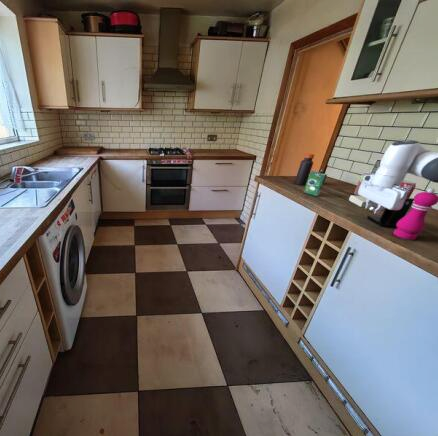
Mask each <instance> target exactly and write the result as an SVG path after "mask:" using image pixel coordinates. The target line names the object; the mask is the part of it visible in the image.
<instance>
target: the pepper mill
mask: <svg viewBox="0 0 438 436" xmlns="http://www.w3.org/2000/svg"><path fill="white" fill-rule="evenodd" d="M435 191H436V190H435V188H432V187H431V188H428V189H427V190H426V191H421V192H418V193H416V194H415V195H414V197H413V199H414V201H413V203H412V204H411V206H410V208H411V209H409V211H408V212H407V213H406V215H405V216H404V217H403V218H401V219H400V220H399V221H398V222H397V224H396V226H397V228H394V230H393V235H395V237H397V238H401V239H404V240H407V241H414V240H416V238H417V237H418V234H421V233H422V232H423V231H424V229H425V220H426V219H425V218H426V215H427V213H428V212H430V211H431V210H432V209H433V206H435V205H437V204H438V195H437V194H436V193H435Z"/></svg>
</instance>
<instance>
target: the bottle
mask: <svg viewBox="0 0 438 436" xmlns="http://www.w3.org/2000/svg"><path fill="white" fill-rule="evenodd" d="M314 158H315V154H313V153H305V154H304V159H303V160H301V161H300V164H299V167H298V171H297V173H296V177H295V180H294V184H295V185H298V186H306V184H307V181H308V178H309V175H310V173H311V171H312V169H313V165H314V161H313V160H314Z"/></svg>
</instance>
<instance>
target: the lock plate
mask: <svg viewBox="0 0 438 436" xmlns="http://www.w3.org/2000/svg"><path fill="white" fill-rule="evenodd" d="M366 200H367V198H365V197H363V196H359V195H356V194H354V195H353V194H352V195H351V194H350V196H349V199H348V201H349V202H351V203H353V204H355V205H357V206H358V207H360V208H366V206H367V205H366ZM372 206H378V204H377V203H375V202H372Z"/></svg>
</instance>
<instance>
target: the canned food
mask: <svg viewBox="0 0 438 436" xmlns="http://www.w3.org/2000/svg"><path fill="white" fill-rule="evenodd" d="M365 175H375V173H373V172H371V173H370V172H363V173H361V176H360V178H359V180H358V183H357V185H356V187H355V190H354V192H353V194H354V195H355V196H361V195H359V194H358V190H359V187H360V185H361V183H362V182H363V181H364V180H363V178H364V176H365Z"/></svg>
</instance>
